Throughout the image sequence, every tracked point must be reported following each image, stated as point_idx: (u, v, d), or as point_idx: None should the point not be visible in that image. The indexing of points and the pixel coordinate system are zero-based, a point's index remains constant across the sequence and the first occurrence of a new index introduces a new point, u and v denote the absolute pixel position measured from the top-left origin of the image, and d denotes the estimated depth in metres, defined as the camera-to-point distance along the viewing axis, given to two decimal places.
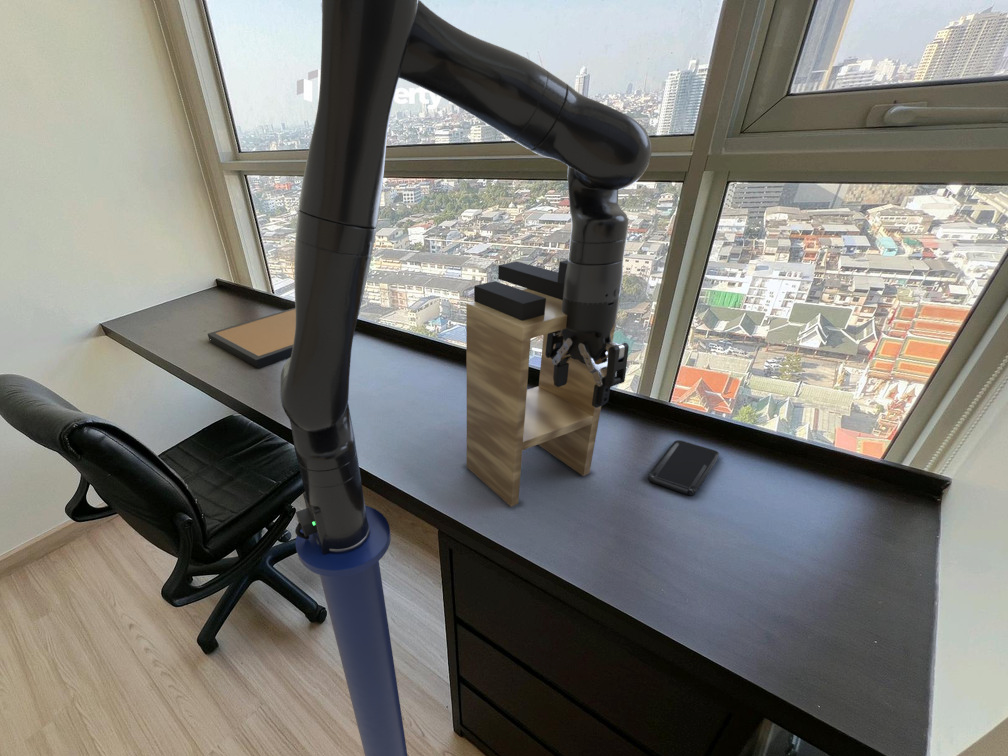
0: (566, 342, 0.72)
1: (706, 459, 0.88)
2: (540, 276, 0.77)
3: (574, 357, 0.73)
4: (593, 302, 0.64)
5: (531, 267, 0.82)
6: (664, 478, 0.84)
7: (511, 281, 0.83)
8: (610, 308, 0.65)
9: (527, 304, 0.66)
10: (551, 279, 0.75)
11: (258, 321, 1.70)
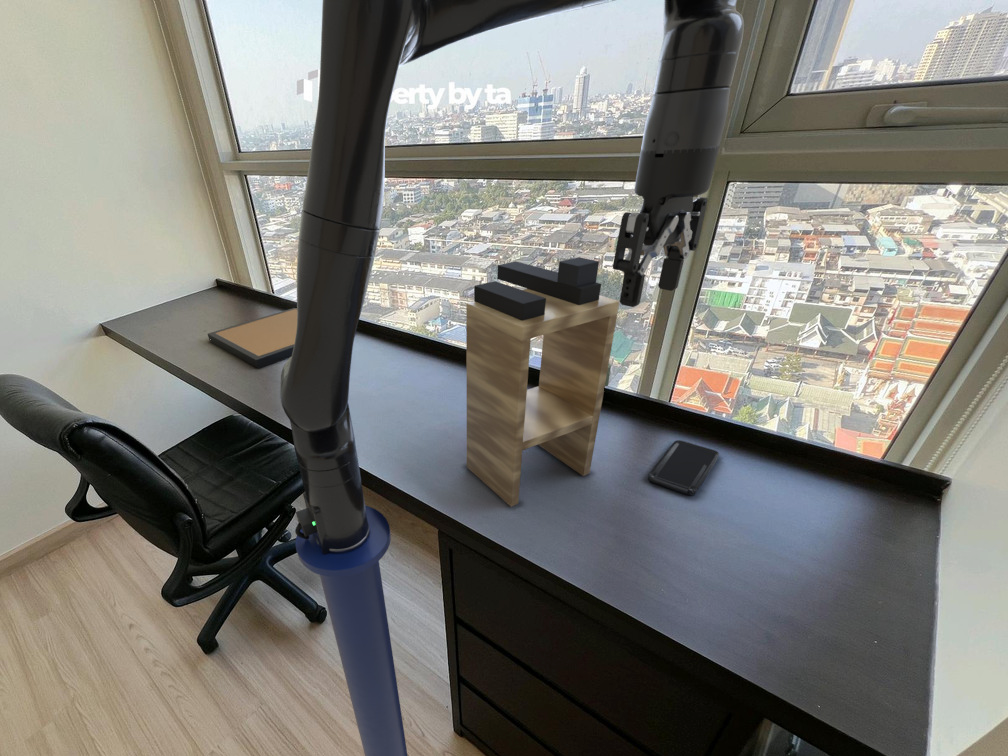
0: None
1: (706, 459, 0.88)
2: (540, 276, 0.77)
3: None
4: (643, 149, 0.51)
5: (530, 267, 0.82)
6: (664, 478, 0.84)
7: (510, 281, 0.83)
8: (658, 162, 0.50)
9: (527, 304, 0.66)
10: (551, 279, 0.75)
11: (258, 321, 1.70)
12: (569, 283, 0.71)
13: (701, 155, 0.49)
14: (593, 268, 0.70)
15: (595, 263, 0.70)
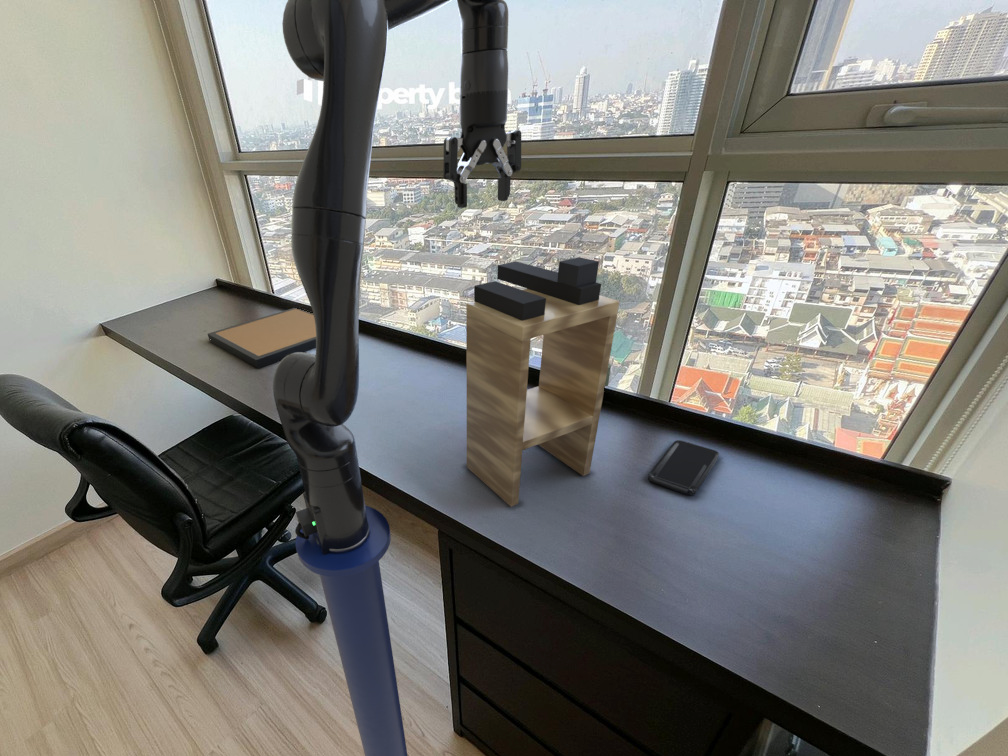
0: None
1: (706, 459, 0.88)
2: (540, 276, 0.77)
3: None
4: None
5: (530, 267, 0.82)
6: (664, 478, 0.84)
7: (510, 281, 0.83)
8: (463, 102, 0.75)
9: (527, 304, 0.66)
10: (551, 279, 0.75)
11: (258, 321, 1.70)
12: (569, 283, 0.71)
13: (486, 96, 0.73)
14: (593, 268, 0.70)
15: (595, 263, 0.70)
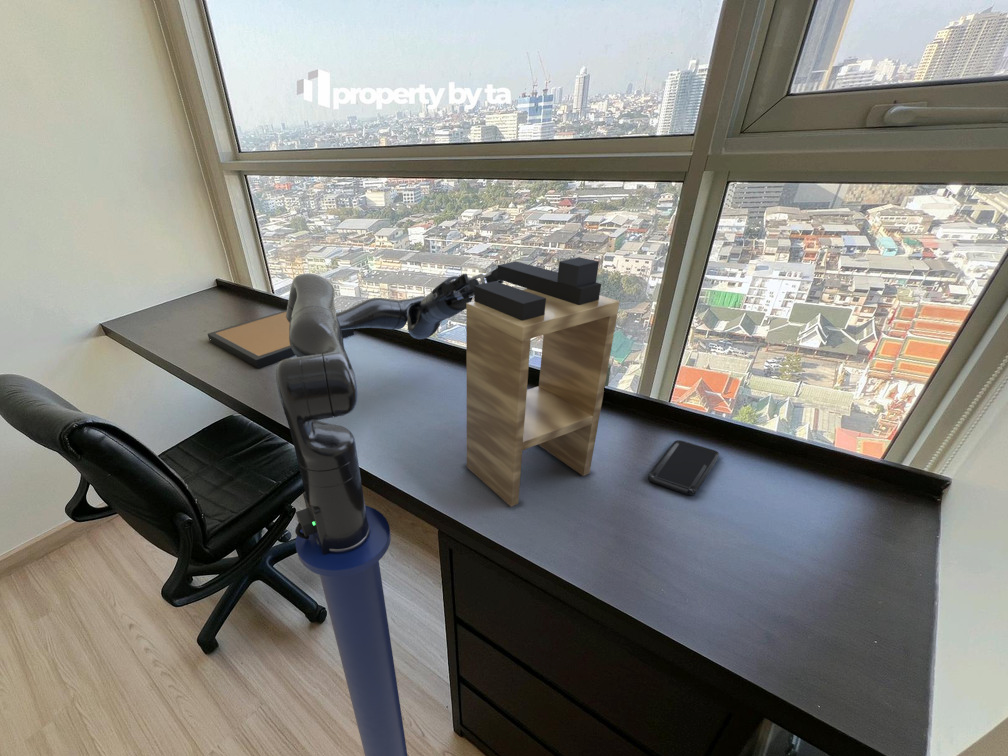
0: (473, 296, 1.01)
1: (706, 459, 0.88)
2: (540, 276, 0.77)
3: (473, 289, 0.99)
4: (440, 311, 1.07)
5: (530, 267, 0.82)
6: (664, 478, 0.84)
7: (510, 281, 0.83)
8: None
9: (527, 304, 0.66)
10: (551, 279, 0.75)
11: (258, 321, 1.70)
12: (569, 283, 0.71)
13: None
14: (593, 268, 0.70)
15: (595, 263, 0.70)
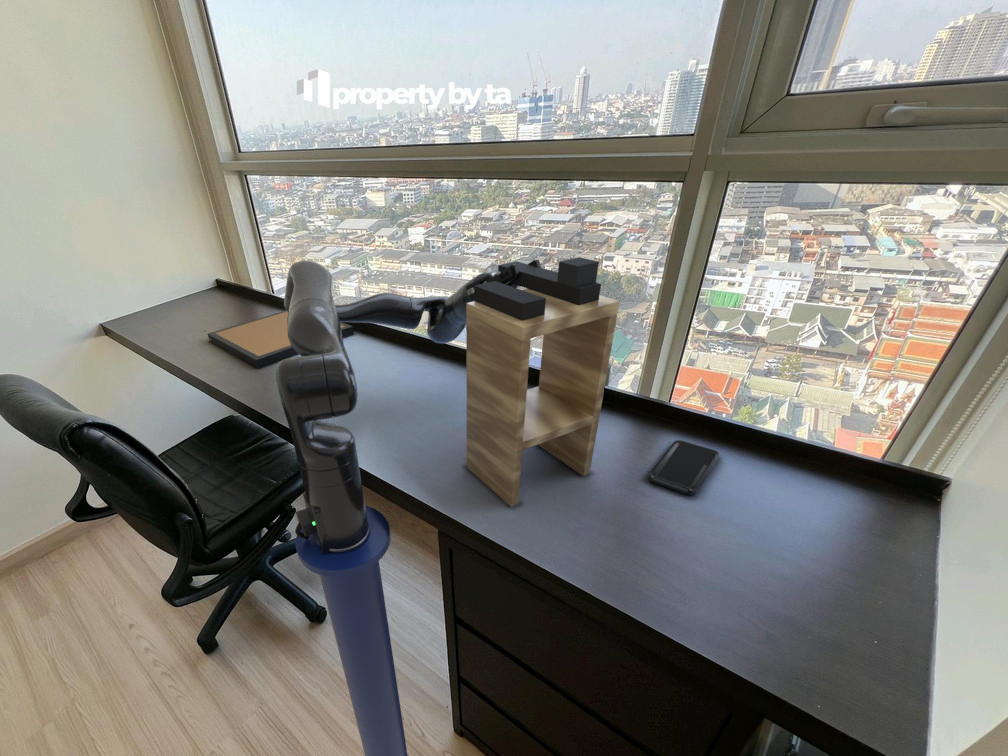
0: None
1: (706, 459, 0.88)
2: (540, 276, 0.77)
3: None
4: None
5: (531, 267, 0.82)
6: (664, 478, 0.84)
7: (511, 281, 0.83)
8: (465, 299, 0.94)
9: (527, 304, 0.66)
10: (551, 279, 0.75)
11: (258, 321, 1.70)
12: (569, 283, 0.71)
13: (468, 282, 0.95)
14: (593, 268, 0.70)
15: (595, 263, 0.70)
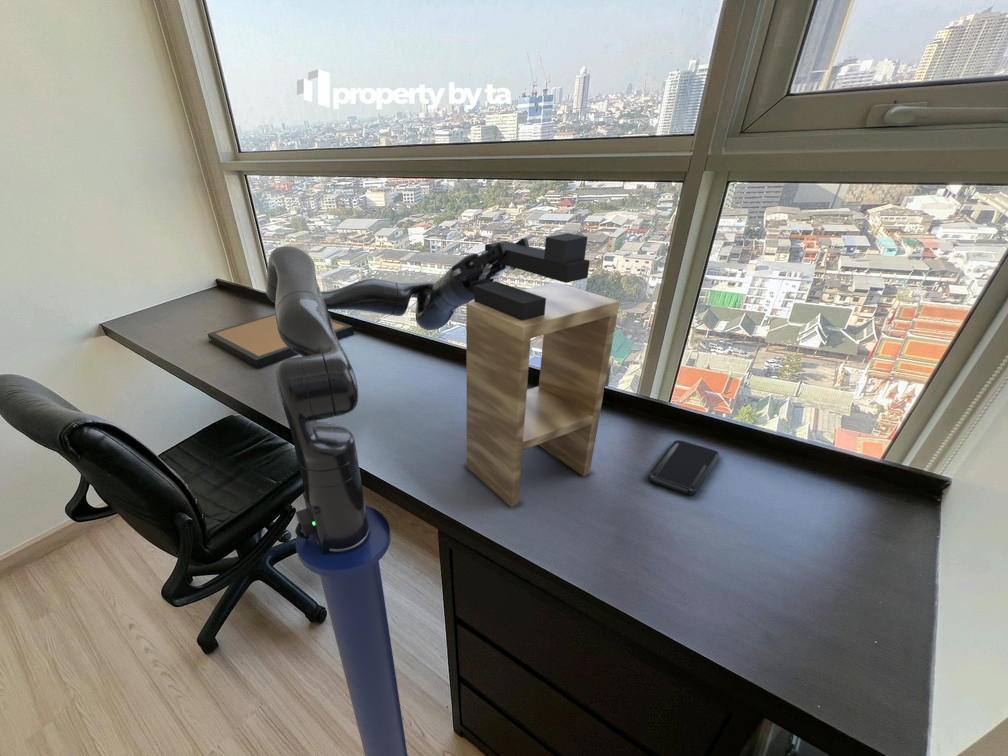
0: (495, 276, 0.87)
1: (706, 459, 0.88)
2: (527, 254, 0.73)
3: (496, 268, 0.85)
4: (456, 296, 0.93)
5: (518, 246, 0.78)
6: (664, 478, 0.84)
7: None
8: (452, 282, 0.91)
9: (527, 304, 0.66)
10: (538, 256, 0.71)
11: (258, 321, 1.70)
12: (556, 260, 0.68)
13: (455, 264, 0.92)
14: (581, 244, 0.67)
15: (583, 238, 0.66)
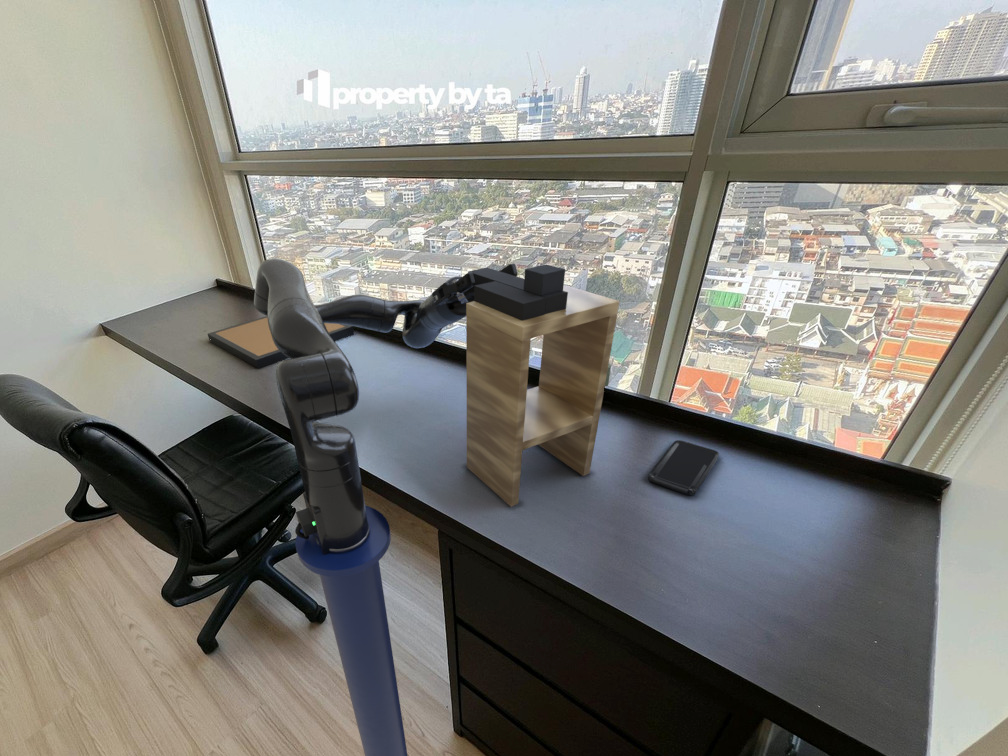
0: None
1: (706, 459, 0.88)
2: (507, 283, 0.74)
3: None
4: (441, 317, 0.93)
5: (500, 274, 0.79)
6: (664, 478, 0.84)
7: None
8: None
9: (527, 304, 0.66)
10: (518, 287, 0.73)
11: (258, 321, 1.70)
12: (535, 291, 0.69)
13: None
14: (559, 276, 0.68)
15: (561, 271, 0.68)
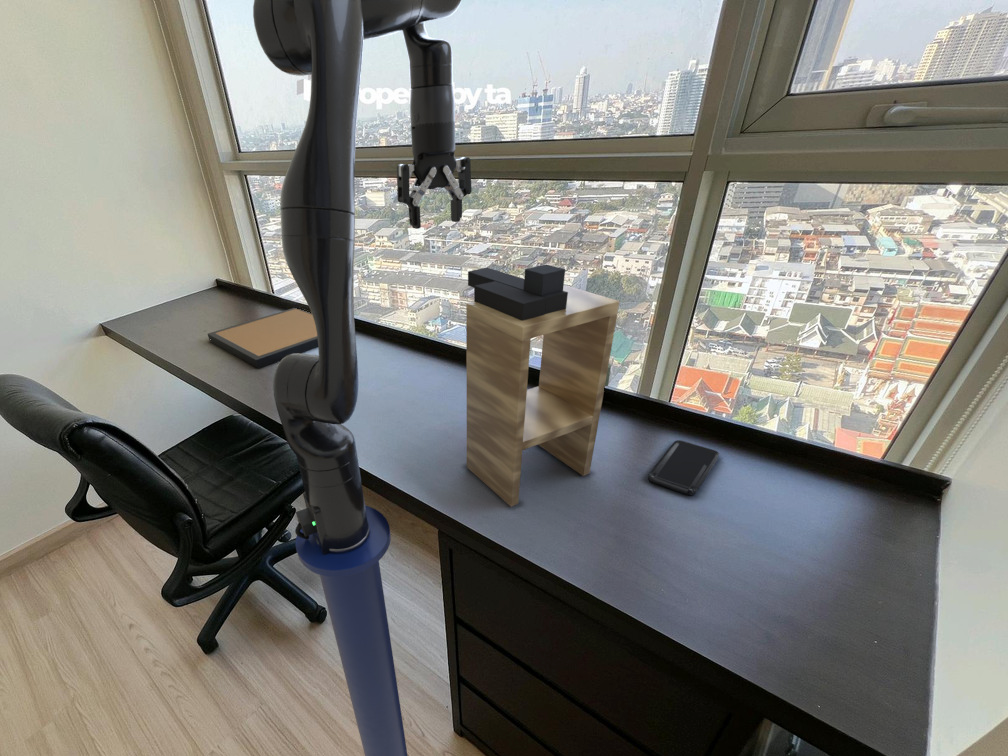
0: None
1: (706, 459, 0.88)
2: (507, 283, 0.74)
3: None
4: None
5: (500, 274, 0.79)
6: (664, 478, 0.84)
7: None
8: (414, 132, 0.81)
9: (527, 304, 0.66)
10: (518, 287, 0.73)
11: (258, 321, 1.70)
12: (535, 291, 0.69)
13: (434, 127, 0.79)
14: (559, 276, 0.68)
15: (561, 271, 0.68)
